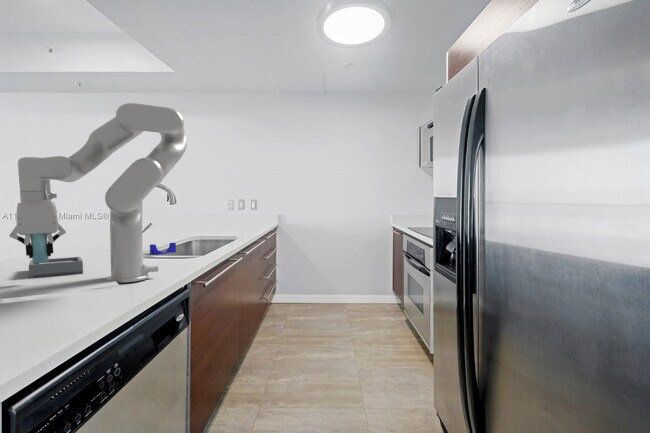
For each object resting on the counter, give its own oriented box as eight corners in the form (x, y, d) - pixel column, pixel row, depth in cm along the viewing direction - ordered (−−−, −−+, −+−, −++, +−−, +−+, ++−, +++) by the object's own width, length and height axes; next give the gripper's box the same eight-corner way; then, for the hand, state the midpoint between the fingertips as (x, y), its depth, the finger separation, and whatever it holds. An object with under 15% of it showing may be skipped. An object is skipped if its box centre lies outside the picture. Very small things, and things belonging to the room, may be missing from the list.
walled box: (80, 268, 145) (80, 256, 145) (82, 273, 132) (82, 260, 132) (31, 272, 136) (31, 260, 136) (29, 278, 123) (28, 265, 123)
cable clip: (154, 257, 179) (154, 245, 178) (150, 256, 181) (149, 244, 181) (177, 254, 188) (177, 243, 188) (172, 254, 191) (172, 242, 191)
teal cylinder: (48, 260, 118) (46, 232, 118) (48, 262, 115) (46, 233, 114) (32, 262, 116) (30, 233, 115) (32, 263, 112) (30, 234, 112)
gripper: (68, 197, 122) (72, 252, 123) (1, 199, 113) (6, 259, 113) (69, 196, 116) (73, 254, 117) (-2, 198, 107) (3, 261, 107)
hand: (40, 256), depth 115 cm, fingers closed on teal cylinder, 4 cm apart
